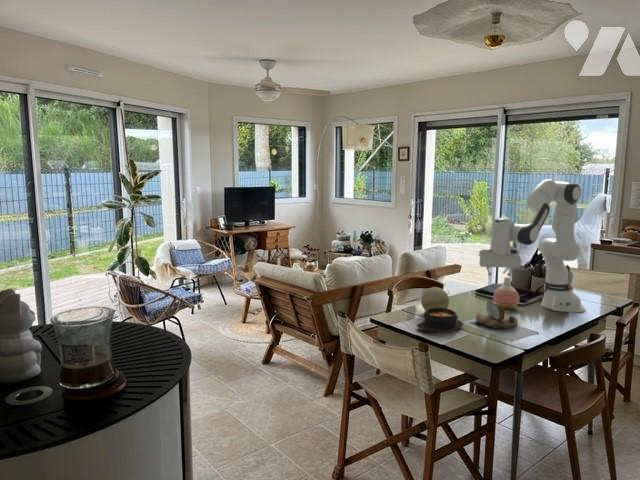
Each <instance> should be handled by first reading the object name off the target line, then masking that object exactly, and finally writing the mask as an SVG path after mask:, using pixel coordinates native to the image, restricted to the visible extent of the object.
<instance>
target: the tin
mask: <svg viewBox="0 0 640 480" xmlns="http://www.w3.org/2000/svg"><path fill="white" fill-rule="evenodd" d="M486 312H488V314H489V315H490V316H491V317H493V318H494V319H495V320H497V321H499V320H503V319H504V316H505V314H506V313H505V309H503V306H502V305H501V304H499V303H498V302H496V301H495V300H494V299H491V300H490V299H489V300H487V302H486Z"/></svg>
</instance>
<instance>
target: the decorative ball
mask: <svg viewBox="0 0 640 480" xmlns="http://www.w3.org/2000/svg"><path fill="white" fill-rule="evenodd" d="M420 299H421V301H420V303H421V306H422V309H424V311H426V310H428V309H431V308H444V309H448V308H449V305H450V298H449V295H448V293H447V291H445V290H444V289H443V288H440V287H437V286H433V287H429V288H427V289H425V290H424V291H423V293H422V295H421V298H420Z"/></svg>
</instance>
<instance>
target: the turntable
mask: <svg viewBox="0 0 640 480" xmlns="http://www.w3.org/2000/svg"><path fill="white" fill-rule="evenodd" d="M475 321H477V322H478V323H480V324H482V325H484V326H486V325H488V326H494V327H508V328H510V327H511V328H512V327H515V326H517V324H518V318H517V317H515V316H514V315H511V314H509V313H505V316H504V319H503V320H499V321H497V320H495V319H494V318H493V317H491V316H490V315H489V314H488V312H487V311H485V312H480V313H477V314H476V316H475ZM488 326H487V327H488Z"/></svg>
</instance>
